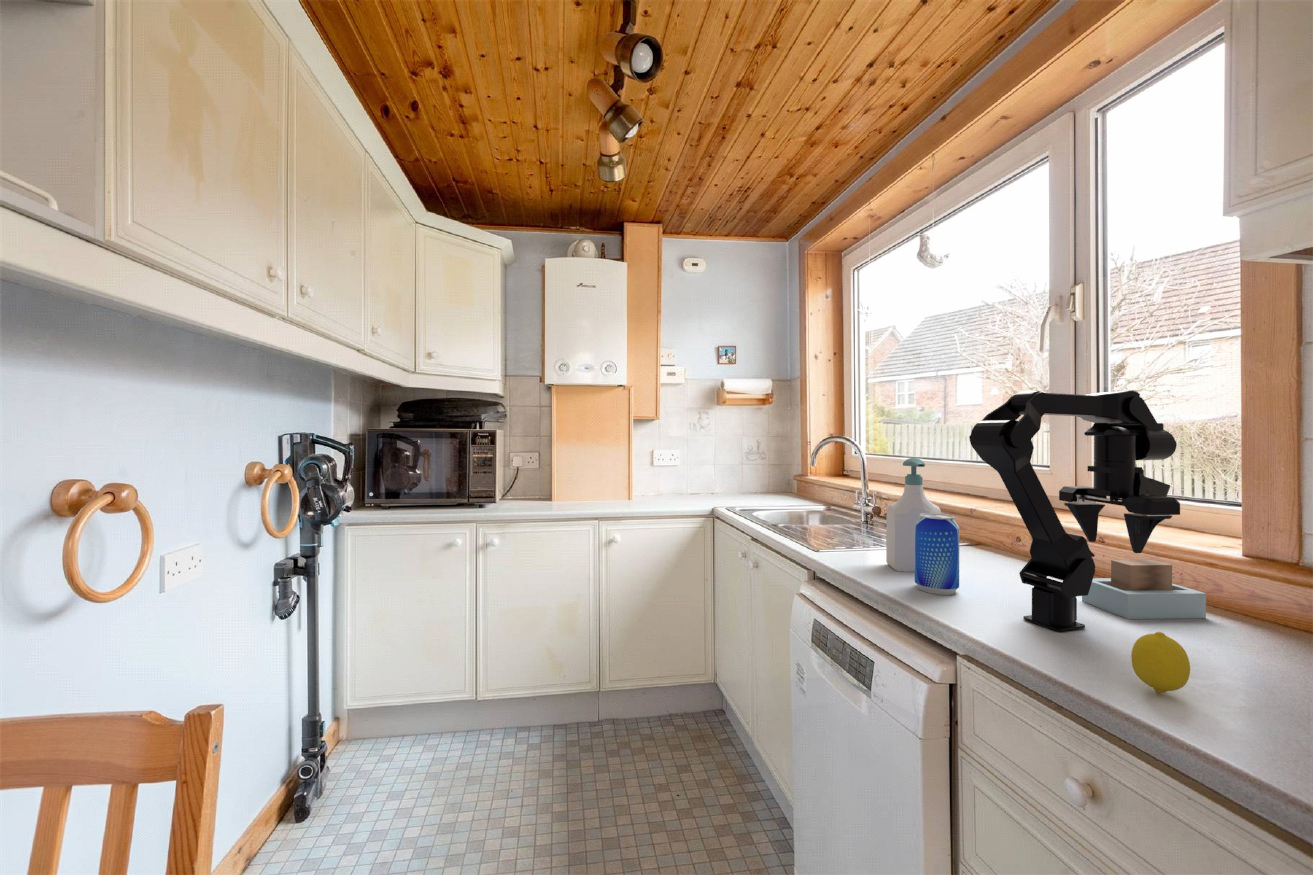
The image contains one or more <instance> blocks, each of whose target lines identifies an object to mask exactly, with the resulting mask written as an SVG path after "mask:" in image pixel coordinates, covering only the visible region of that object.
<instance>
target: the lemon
mask: <svg viewBox="0 0 1313 875" xmlns="http://www.w3.org/2000/svg"><path fill="white" fill-rule="evenodd" d="M1130 657H1131V658H1130V659H1131V666H1132V668H1133V672H1134V673H1135V675H1136V676H1137V677H1138V678H1139V680H1140V681H1141V682H1143V683H1144V684H1145V685H1147V686H1148V687H1150V688H1152V689H1153V691H1155V693H1157V692H1158V693H1157V694H1160V693H1163V694H1166V693H1167V692H1174V691H1178V690H1180V689H1182V688H1183V687H1185V686H1186V684H1187V683H1188V682H1189V678H1190V675H1191V665H1190V664H1191V663H1190V660H1189V656H1188V654H1187V652H1186V650H1185V649H1184V647H1183V646H1182V645H1181V644H1180V643H1179V642H1178V641H1176V640H1175V639H1173V638H1172V637H1170V636H1167V635H1166V634H1165V633H1164V632H1160V631H1156V632H1155V633H1147V634H1145V635H1142V636H1140V637H1139V638H1138V639H1136V640H1135V642H1134V643H1133V646H1132V649H1131V656H1130Z"/></svg>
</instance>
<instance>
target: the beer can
mask: <svg viewBox="0 0 1313 875" xmlns="http://www.w3.org/2000/svg"><path fill="white" fill-rule="evenodd" d="M914 583H915V584H916V585H917V587H918V589H919V590H921V591H923V592H924V593H928V594H933V595H941V596H942V595H943V596H945V595H946V596H948V595H950V596H951V595H953V594H955V593H956V591H957V590H958V589H959V588H960V526H959V525H958V523H957V521H956V520H955V516H954V515H951V514H947V513H941V514H938V513H923V514H920V518H919V519H918V521H917V522H916V524H915V572H914Z"/></svg>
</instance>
